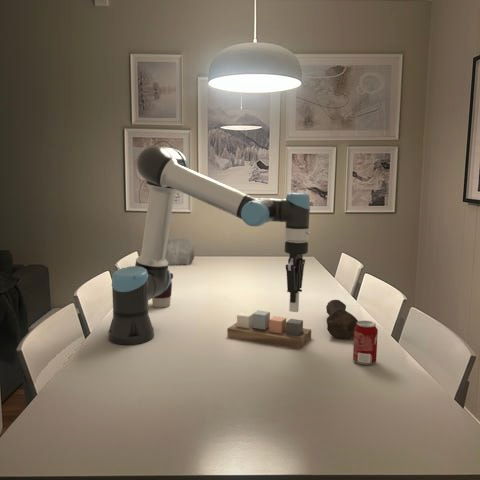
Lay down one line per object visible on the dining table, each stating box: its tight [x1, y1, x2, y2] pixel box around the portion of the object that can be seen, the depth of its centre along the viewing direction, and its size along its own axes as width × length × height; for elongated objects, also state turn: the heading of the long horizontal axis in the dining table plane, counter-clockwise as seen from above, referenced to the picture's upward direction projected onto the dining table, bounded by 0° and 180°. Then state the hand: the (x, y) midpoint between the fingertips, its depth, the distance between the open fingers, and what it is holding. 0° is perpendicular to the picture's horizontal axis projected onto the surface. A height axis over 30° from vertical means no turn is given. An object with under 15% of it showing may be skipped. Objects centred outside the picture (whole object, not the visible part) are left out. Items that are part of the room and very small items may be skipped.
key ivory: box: [236, 311, 253, 328], centre depth 170 cm, size 4×4×5 cm
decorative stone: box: [165, 236, 195, 266], centre depth 294 cm, size 17×20×10 cm
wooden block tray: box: [226, 322, 312, 350], centre depth 167 cm, size 12×26×3 cm, turn 65°
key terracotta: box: [269, 316, 287, 334], centre depth 165 cm, size 4×4×5 cm
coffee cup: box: [151, 272, 174, 309], centre depth 204 cm, size 10×10×15 cm
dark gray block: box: [286, 318, 304, 336], centre depth 163 cm, size 4×4×5 cm
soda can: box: [352, 320, 379, 366], centre depth 145 cm, size 7×7×12 cm
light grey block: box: [252, 310, 271, 330], centre depth 168 cm, size 4×4×5 cm
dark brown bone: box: [325, 299, 359, 341], centre depth 178 cm, size 11×10×28 cm
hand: (293, 311), depth 162 cm, fingers closed
